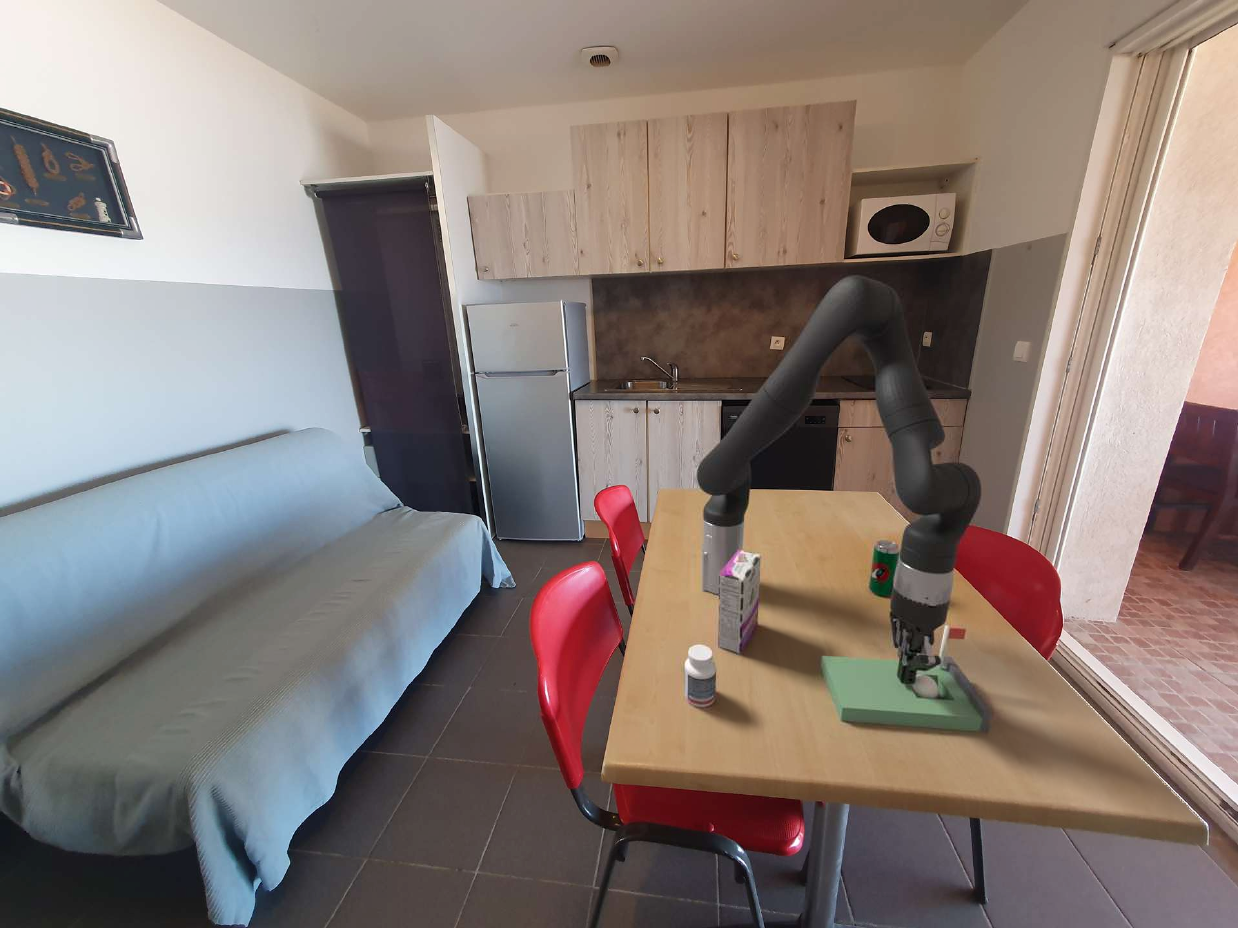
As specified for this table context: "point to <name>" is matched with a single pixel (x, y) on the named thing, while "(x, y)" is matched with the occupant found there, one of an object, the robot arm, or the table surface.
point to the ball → (925, 687)
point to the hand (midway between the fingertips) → (905, 680)
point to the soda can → (884, 567)
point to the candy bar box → (738, 600)
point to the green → (905, 693)
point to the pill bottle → (700, 676)
